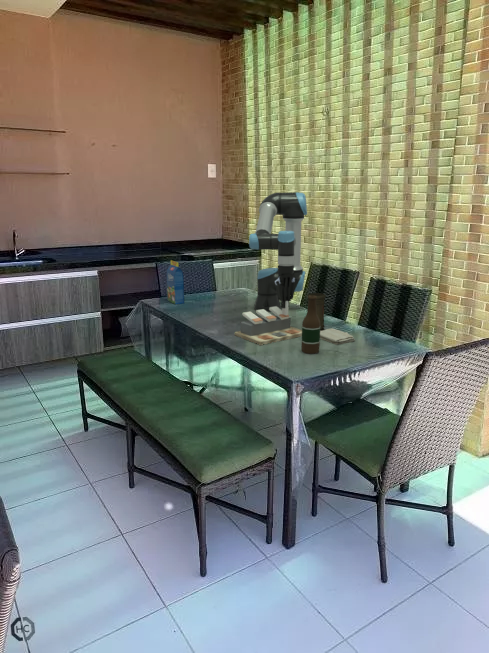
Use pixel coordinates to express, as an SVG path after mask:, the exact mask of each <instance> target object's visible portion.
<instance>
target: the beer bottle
mask: <svg viewBox="0 0 489 653" xmlns="http://www.w3.org/2000/svg"><path fill="white" fill-rule="evenodd" d="M316 299H317V297H316V296H314V295H310V296H308V295H307V300H308V301H307V311H306V315H305V317H304V318H303V321H302V326H301V330H302V336H301V352H302V353H304V354H307V355H316V354H319V351H320V346H321V343H320V341H321V339H320V320H319V317H318V316H317V312H316Z"/></svg>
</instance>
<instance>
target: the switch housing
mask: <svg viewBox="0 0 489 653" xmlns="http://www.w3.org/2000/svg"><path fill="white" fill-rule="evenodd" d="M274 316H275V317H276V320H275V321H270V322H268V321H267V320H265V319H264V318H263V317H260V318H261V319H262V320H263V322H262V323H259V324H254V323H252V322H251V321H250V320H245V321H240V323H239V324H240V331H241V333H243V334H246V335H249V336H254V335H259V334H264V333H269V332H273V331H278V330H283V329H288V328H290V326H291V324H292V323H291V317H289V318H288V319H283V320H281V319H280V318H279V317H277V316H276V315H274Z"/></svg>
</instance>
